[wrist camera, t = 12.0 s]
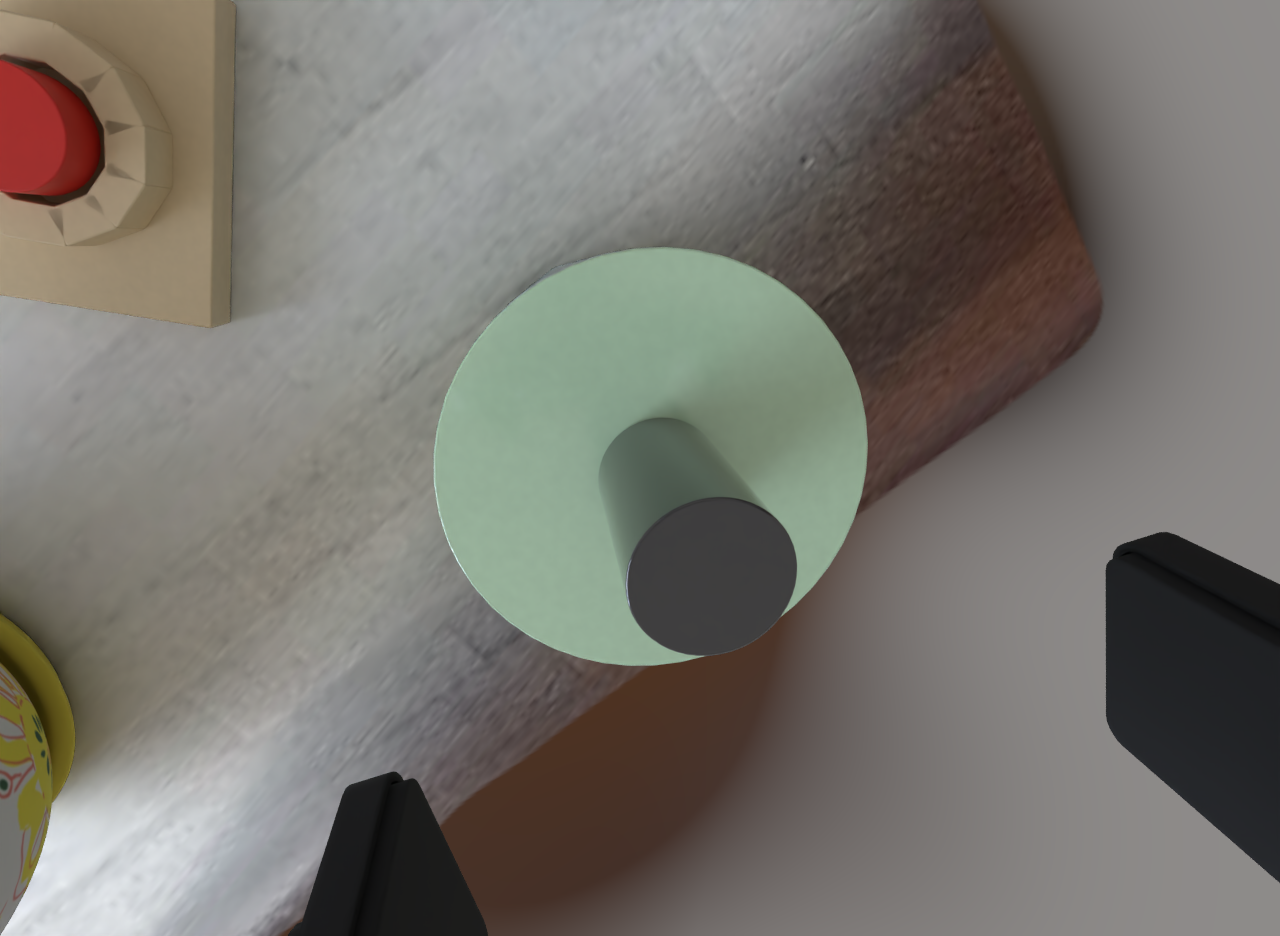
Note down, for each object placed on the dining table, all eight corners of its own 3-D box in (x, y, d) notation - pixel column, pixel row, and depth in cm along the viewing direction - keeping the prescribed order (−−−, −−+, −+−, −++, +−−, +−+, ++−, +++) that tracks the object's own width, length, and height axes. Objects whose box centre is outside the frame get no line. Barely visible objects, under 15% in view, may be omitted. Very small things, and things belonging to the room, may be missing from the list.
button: (-35, 56, 21) (-83, 40, 19) (99, 84, 22) (63, 72, 20) (-25, 182, 22) (-70, 178, 20) (103, 206, 23) (69, 204, 21)
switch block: (-68, -69, 22) (-172, -122, 19) (236, 4, 24) (189, -33, 21) (-37, 280, 25) (-122, 286, 22) (230, 323, 27) (188, 335, 24)
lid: (372, 314, 19) (270, 362, 12) (818, 195, 20) (982, 170, 12) (514, 691, 23) (504, 897, 16) (875, 583, 24) (1023, 733, 17)
